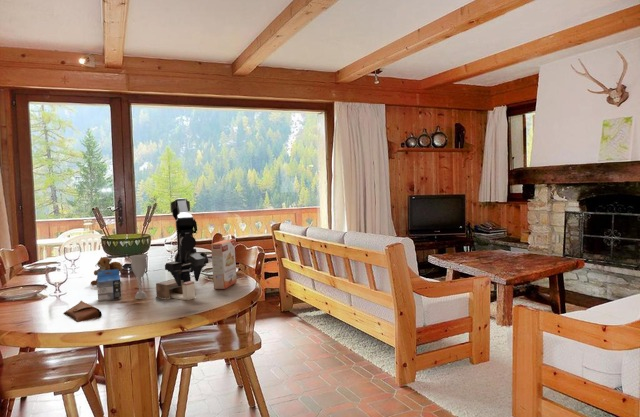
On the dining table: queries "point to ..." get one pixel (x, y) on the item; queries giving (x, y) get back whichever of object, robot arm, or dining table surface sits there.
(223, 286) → the cracker box
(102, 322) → the dining table surface
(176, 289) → the box
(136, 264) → the chalice
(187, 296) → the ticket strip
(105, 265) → the stuffed squirrel
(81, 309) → the sunglasses case
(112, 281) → the label tape cartridge
